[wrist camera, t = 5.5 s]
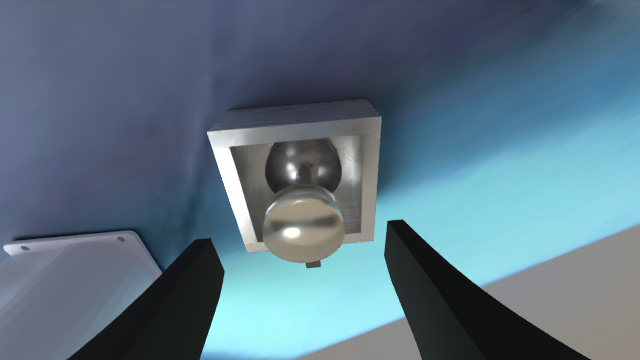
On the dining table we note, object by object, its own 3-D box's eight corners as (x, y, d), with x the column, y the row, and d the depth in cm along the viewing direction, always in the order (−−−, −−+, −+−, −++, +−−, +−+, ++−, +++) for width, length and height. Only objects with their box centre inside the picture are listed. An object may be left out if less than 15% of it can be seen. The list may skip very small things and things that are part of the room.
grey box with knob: (262, 239, 19) (255, 276, 16) (227, 110, 14) (207, 131, 11) (361, 229, 19) (371, 265, 17) (365, 98, 14) (381, 116, 11)
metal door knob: (273, 202, 17) (260, 275, 12) (259, 137, 14) (235, 195, 9) (341, 196, 17) (357, 266, 12) (339, 130, 14) (359, 184, 9)
